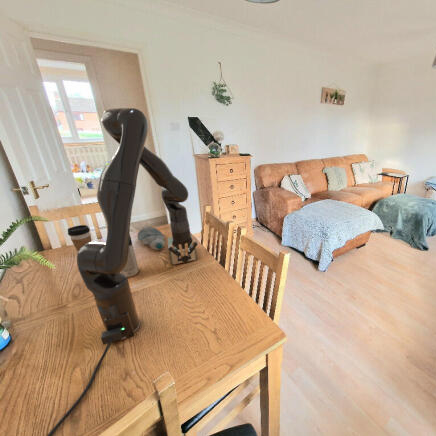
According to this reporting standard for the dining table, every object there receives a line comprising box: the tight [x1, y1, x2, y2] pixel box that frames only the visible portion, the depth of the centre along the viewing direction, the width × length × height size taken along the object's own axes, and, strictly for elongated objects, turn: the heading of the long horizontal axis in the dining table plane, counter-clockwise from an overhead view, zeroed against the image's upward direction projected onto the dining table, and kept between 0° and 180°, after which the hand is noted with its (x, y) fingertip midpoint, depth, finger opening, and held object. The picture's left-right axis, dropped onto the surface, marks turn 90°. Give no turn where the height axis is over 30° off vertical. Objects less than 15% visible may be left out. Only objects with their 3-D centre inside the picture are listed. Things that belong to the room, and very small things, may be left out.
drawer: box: [171, 247, 197, 265], centre depth 121 cm, size 17×10×7 cm, turn 29°
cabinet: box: [167, 233, 198, 266], centre depth 124 cm, size 14×12×9 cm
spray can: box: [120, 235, 140, 278], centre depth 106 cm, size 7×7×20 cm
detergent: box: [137, 226, 166, 251], centre depth 134 cm, size 13×7×25 cm
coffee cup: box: [67, 224, 93, 253], centre depth 121 cm, size 8×8×15 cm
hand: (185, 261), depth 113 cm, fingers closed
